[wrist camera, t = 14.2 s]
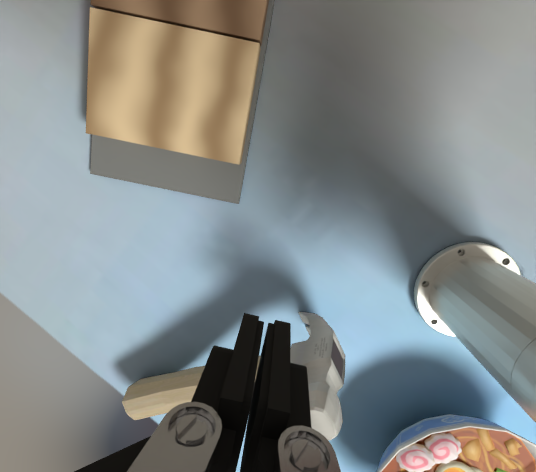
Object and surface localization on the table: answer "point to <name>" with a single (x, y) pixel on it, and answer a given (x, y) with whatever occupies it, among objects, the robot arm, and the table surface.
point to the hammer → (303, 353)
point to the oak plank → (169, 86)
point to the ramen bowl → (458, 447)
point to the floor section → (170, 162)
